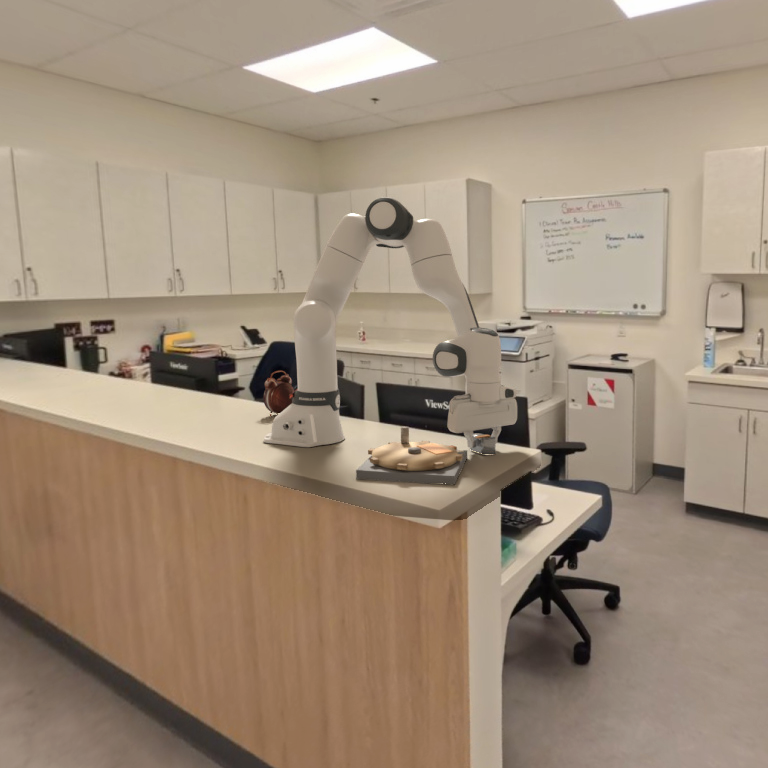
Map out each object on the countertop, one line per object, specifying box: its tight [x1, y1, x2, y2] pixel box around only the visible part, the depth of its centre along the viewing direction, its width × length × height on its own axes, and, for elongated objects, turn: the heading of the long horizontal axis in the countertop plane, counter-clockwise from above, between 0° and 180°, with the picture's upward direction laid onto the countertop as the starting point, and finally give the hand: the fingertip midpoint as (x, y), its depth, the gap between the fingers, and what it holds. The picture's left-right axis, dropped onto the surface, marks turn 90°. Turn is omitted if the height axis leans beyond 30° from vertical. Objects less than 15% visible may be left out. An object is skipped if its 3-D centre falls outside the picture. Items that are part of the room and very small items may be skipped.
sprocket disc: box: [367, 426, 463, 471], centre depth 149 cm, size 22×22×6 cm
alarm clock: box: [263, 370, 295, 415], centre depth 213 cm, size 11×5×15 cm, turn 141°
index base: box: [355, 449, 468, 485], centre depth 150 cm, size 22×22×2 cm
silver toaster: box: [469, 433, 497, 455], centre depth 164 cm, size 8×4×4 cm, turn 30°
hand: (482, 445), depth 164 cm, fingers open, 5 cm apart
